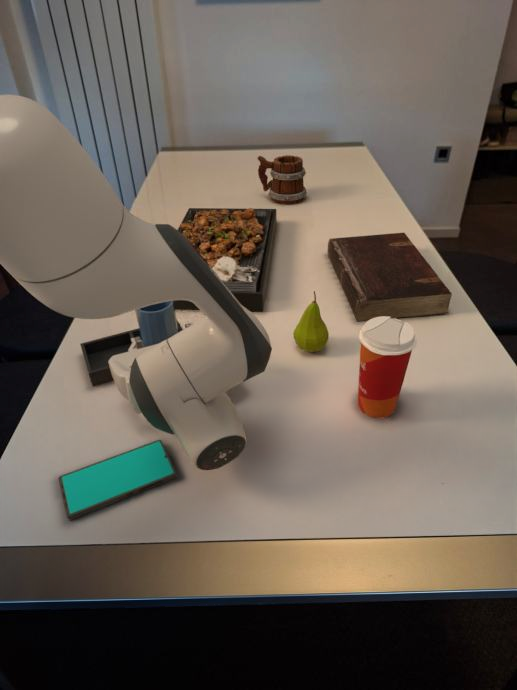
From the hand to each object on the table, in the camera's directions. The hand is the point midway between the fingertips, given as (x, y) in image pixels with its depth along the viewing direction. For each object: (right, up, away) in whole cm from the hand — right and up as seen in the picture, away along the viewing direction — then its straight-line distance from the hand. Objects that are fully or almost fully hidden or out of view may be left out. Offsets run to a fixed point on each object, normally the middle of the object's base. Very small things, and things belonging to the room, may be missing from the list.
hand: (162, 333), depth 85 cm
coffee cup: (+36, -12, -4) cm, 38 cm away
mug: (+24, +44, +70) cm, 86 cm away
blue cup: (-2, -2, +8) cm, 9 cm away
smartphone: (-3, -21, -15) cm, 26 cm away
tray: (-6, -4, +7) cm, 10 cm away
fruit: (+26, -3, +8) cm, 28 cm away
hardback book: (+44, +12, +27) cm, 53 cm away
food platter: (+7, +19, +37) cm, 42 cm away
